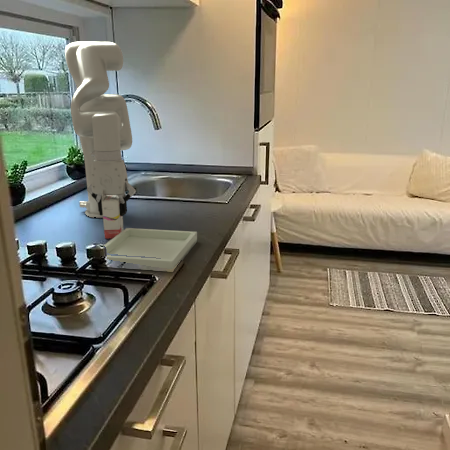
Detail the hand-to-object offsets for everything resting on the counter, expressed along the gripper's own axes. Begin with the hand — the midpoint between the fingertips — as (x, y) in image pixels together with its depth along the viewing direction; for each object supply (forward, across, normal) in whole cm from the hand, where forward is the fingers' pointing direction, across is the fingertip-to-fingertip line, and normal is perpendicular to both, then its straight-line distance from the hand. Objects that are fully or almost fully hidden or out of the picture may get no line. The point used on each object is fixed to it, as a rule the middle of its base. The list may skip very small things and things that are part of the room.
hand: (113, 214), depth 147 cm
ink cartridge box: (+7, 0, 0) cm, 7 cm away
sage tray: (+7, +16, -14) cm, 22 cm away
